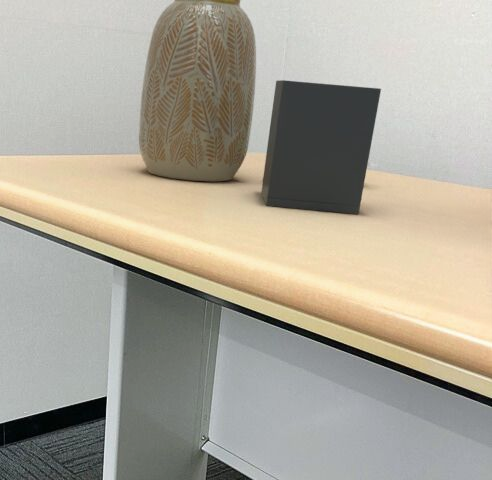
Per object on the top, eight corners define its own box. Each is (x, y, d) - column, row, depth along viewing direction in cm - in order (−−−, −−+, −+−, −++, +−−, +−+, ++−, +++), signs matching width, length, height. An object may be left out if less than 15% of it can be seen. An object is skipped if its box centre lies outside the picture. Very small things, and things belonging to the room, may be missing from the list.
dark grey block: (358, 214, 94) (381, 88, 89) (266, 205, 95) (283, 80, 90) (344, 200, 105) (363, 88, 100) (261, 193, 106) (276, 80, 101)
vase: (262, 179, 121) (287, -4, 112) (211, 187, 107) (234, -21, 98) (171, 165, 129) (187, -6, 120) (114, 171, 116) (126, -22, 106)
